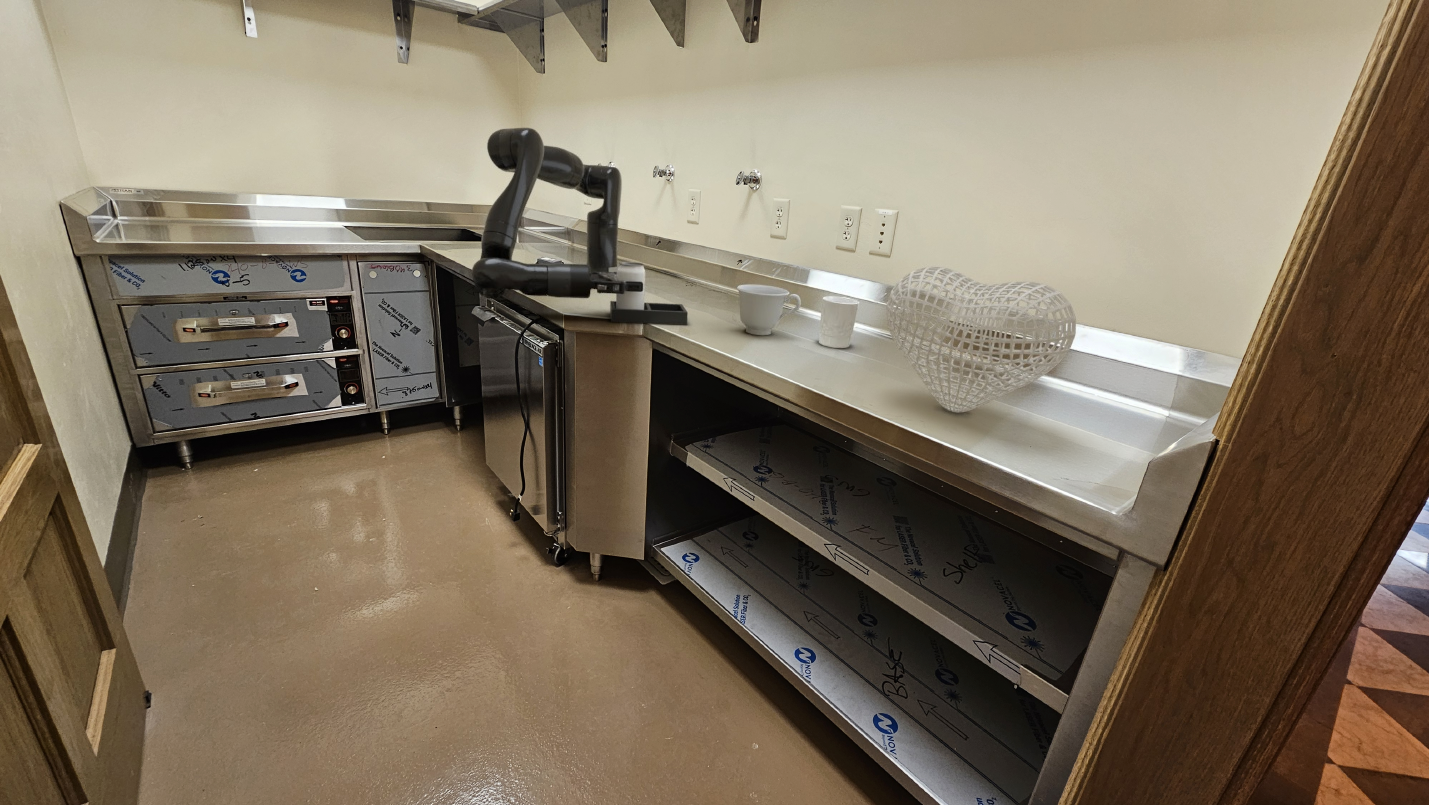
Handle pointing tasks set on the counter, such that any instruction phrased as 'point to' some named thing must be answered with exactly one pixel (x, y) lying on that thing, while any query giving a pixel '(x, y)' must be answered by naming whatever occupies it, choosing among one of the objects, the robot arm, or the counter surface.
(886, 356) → the counter surface
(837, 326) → the white cup
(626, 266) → the can
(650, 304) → the tray
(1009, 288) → the heart
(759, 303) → the teacup
